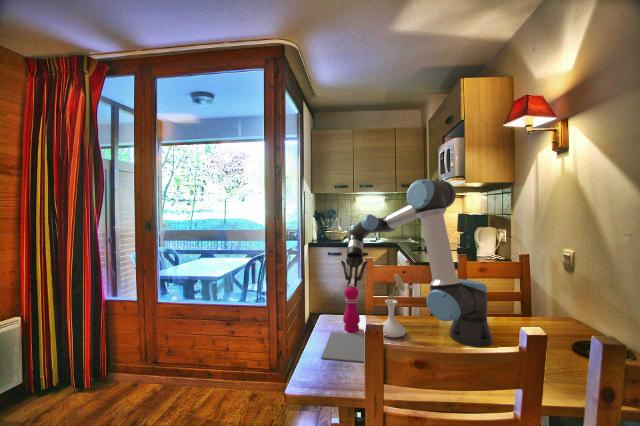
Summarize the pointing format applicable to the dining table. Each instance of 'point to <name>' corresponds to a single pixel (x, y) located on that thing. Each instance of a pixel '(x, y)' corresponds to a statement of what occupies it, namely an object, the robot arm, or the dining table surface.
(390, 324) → the flower in vase
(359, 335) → the mat
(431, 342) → the dining table surface
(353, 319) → the pepper mill
